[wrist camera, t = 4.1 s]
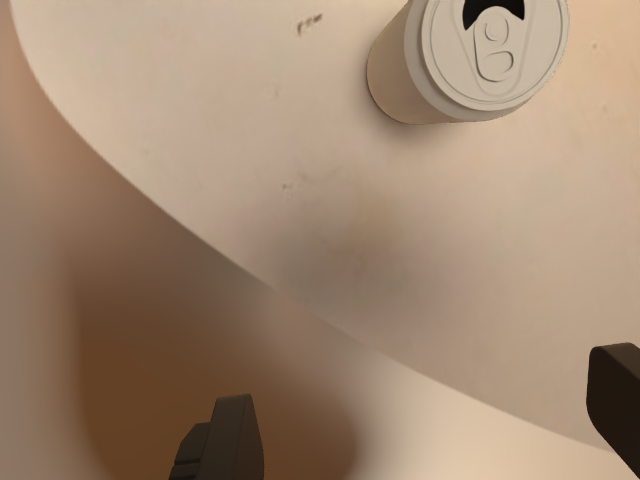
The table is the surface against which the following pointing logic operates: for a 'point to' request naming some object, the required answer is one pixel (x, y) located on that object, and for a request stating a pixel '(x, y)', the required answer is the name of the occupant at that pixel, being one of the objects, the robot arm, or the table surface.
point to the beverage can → (466, 58)
